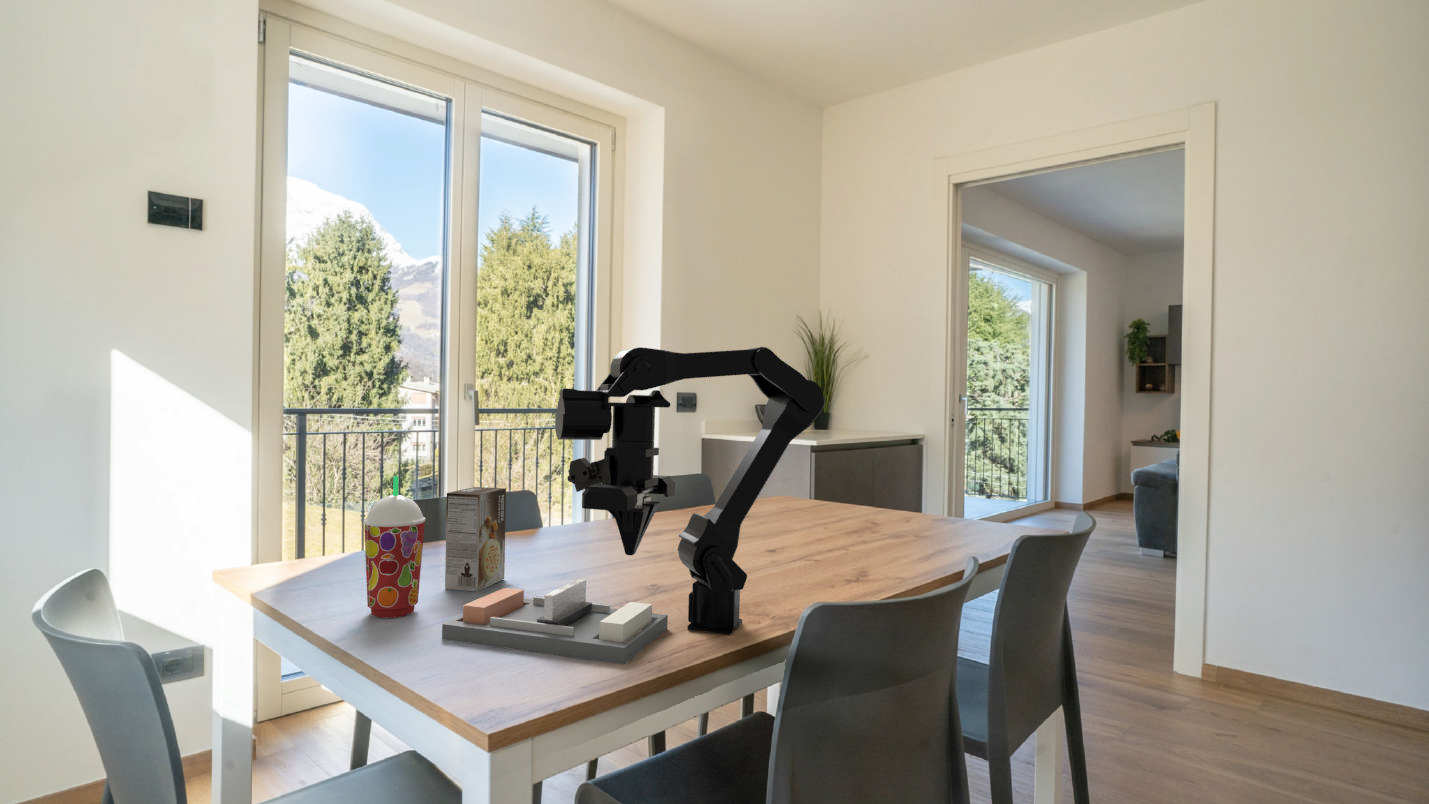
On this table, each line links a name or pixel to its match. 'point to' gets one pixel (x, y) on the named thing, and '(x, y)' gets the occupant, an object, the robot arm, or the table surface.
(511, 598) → the button terracotta
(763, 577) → the table surface
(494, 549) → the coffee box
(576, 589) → the slider paddle
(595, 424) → the robot arm
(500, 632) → the panel
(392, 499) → the smoothie
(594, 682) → the table surface
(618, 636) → the button white
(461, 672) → the table surface
